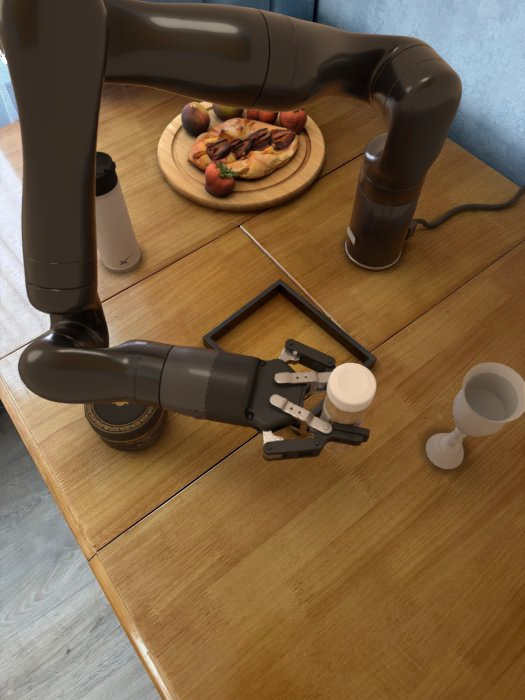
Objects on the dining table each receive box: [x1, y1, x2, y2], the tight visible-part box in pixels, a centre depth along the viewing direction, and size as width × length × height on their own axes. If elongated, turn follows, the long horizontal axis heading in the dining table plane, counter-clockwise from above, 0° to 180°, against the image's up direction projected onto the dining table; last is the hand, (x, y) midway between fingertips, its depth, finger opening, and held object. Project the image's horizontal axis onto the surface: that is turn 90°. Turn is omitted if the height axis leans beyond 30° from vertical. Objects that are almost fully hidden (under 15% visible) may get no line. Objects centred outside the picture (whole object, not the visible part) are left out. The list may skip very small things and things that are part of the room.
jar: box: [83, 402, 169, 453], centre depth 70 cm, size 10×10×8 cm
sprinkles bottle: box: [319, 362, 377, 453], centre depth 56 cm, size 5×5×14 cm
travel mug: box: [95, 150, 142, 275], centre depth 80 cm, size 6×7×20 cm
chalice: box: [425, 361, 525, 470], centre depth 63 cm, size 7×7×18 cm
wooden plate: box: [156, 101, 327, 212], centre depth 98 cm, size 32×32×8 cm
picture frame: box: [201, 278, 378, 437], centre depth 78 cm, size 16×20×2 cm
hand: (370, 413), depth 55 cm, fingers closed on sprinkles bottle, 4 cm apart
